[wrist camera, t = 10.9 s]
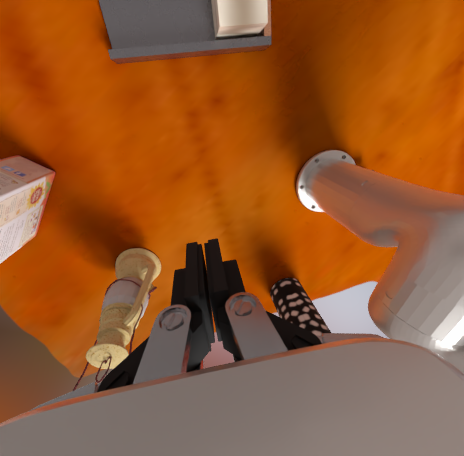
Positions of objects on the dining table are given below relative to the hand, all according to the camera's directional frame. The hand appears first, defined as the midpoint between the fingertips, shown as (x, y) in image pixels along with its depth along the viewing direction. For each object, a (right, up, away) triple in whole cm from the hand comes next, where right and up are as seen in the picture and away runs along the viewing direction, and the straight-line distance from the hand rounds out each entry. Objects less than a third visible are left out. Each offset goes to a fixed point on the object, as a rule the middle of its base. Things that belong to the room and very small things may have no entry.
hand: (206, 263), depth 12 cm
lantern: (-19, -6, +37) cm, 42 cm away
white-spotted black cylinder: (+15, -14, +47) cm, 51 cm away
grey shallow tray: (-5, +31, +19) cm, 37 cm away
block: (+1, +33, +20) cm, 38 cm away
